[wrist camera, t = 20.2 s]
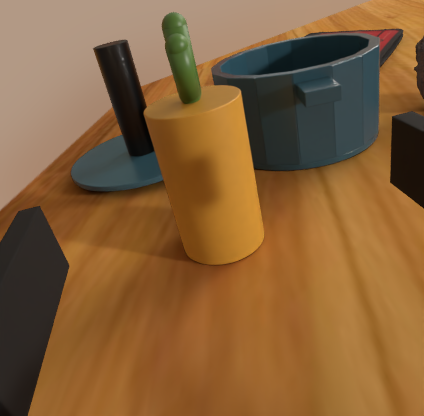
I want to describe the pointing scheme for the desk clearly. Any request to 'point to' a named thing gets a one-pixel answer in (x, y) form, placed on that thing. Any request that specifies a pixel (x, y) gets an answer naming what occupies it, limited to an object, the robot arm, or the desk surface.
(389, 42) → the binder
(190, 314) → the desk surface
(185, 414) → the desk surface
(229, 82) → the pot
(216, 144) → the yellow cylinder green stem
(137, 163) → the pot lid
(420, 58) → the perforated stone tool
